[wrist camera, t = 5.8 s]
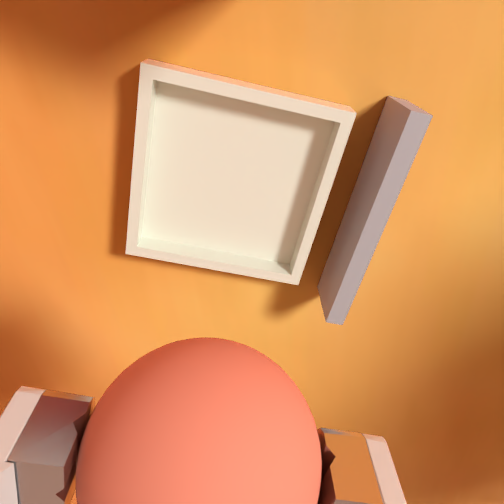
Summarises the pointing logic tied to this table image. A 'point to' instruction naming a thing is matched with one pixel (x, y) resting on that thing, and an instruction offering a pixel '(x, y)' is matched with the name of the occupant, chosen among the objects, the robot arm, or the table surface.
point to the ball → (200, 432)
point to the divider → (371, 204)
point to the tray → (230, 172)
